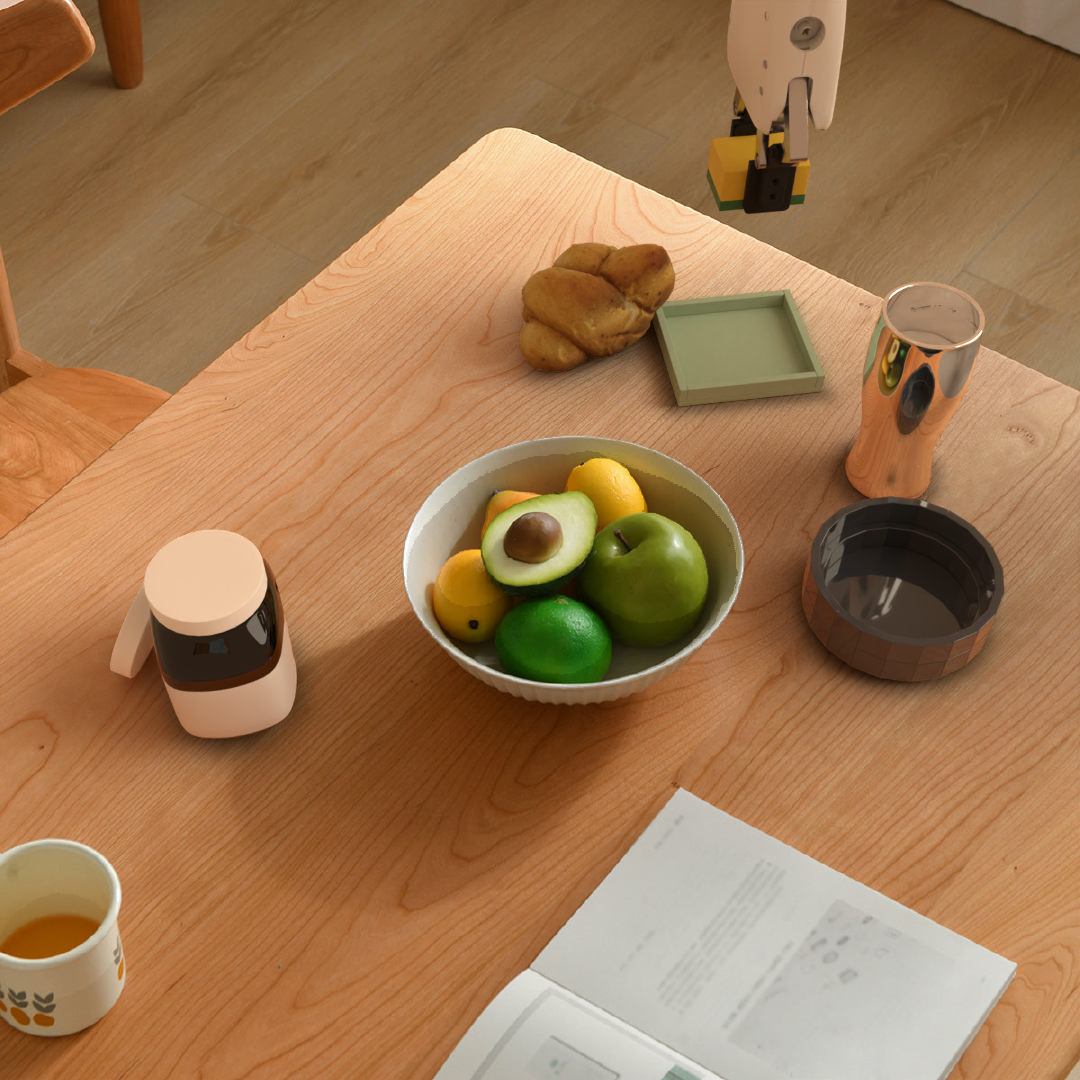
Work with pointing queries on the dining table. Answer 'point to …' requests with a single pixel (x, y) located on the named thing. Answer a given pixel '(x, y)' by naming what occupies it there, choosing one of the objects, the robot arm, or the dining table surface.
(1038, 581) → the dining table surface
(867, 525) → the bowl
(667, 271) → the bread roll
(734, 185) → the sponge
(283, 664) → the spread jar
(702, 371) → the sponge tray
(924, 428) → the beer glass
